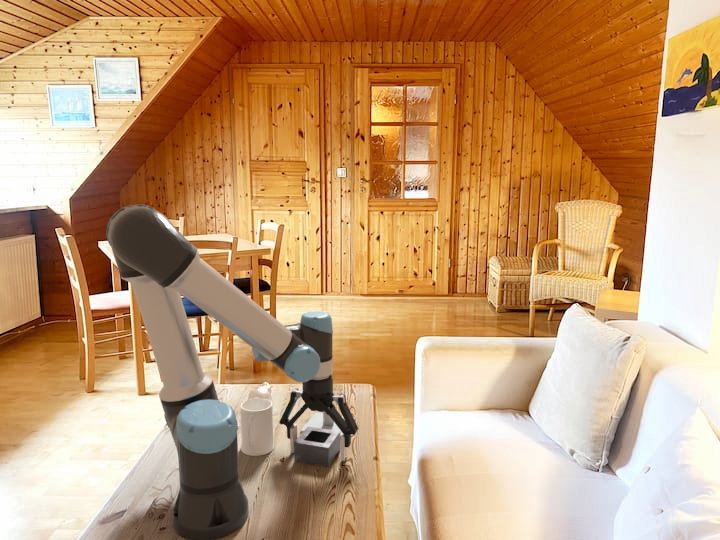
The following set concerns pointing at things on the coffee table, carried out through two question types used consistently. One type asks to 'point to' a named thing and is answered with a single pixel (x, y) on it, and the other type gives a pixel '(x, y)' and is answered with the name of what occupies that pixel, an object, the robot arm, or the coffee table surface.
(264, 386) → the figurine
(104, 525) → the coffee table surface
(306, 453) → the hollow square block
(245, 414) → the mug
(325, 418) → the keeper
